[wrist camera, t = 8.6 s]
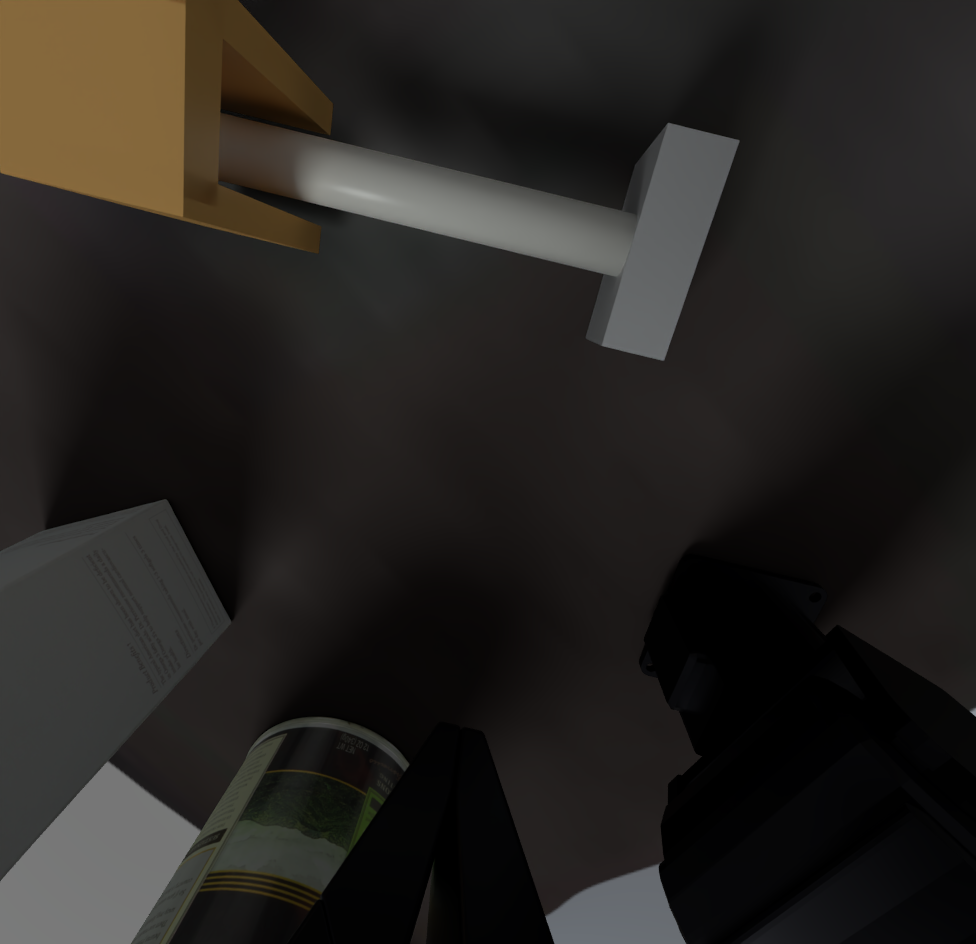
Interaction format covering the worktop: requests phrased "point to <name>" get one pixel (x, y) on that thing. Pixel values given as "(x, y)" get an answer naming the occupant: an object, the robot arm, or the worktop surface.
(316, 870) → the coffee can
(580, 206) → the grey mallet
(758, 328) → the worktop surface
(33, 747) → the supplement box
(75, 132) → the sleeve
